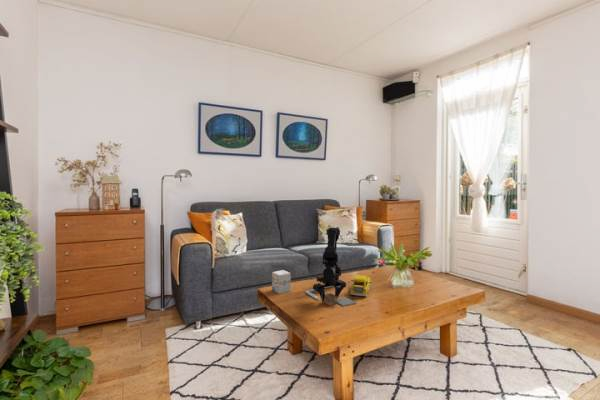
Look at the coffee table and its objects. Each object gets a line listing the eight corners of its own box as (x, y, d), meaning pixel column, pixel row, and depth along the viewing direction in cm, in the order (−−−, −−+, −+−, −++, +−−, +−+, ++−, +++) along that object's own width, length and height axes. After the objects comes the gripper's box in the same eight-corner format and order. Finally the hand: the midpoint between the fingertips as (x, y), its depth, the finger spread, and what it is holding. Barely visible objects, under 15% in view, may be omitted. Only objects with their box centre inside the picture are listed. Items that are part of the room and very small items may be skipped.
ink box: (271, 290, 197) (271, 271, 196) (282, 287, 202) (283, 269, 201) (279, 294, 190) (279, 275, 189) (290, 291, 195) (291, 272, 194)
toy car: (372, 286, 207) (372, 271, 207) (368, 299, 184) (369, 282, 183) (353, 284, 211) (353, 269, 210) (347, 296, 187) (347, 280, 187)
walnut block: (330, 300, 181) (330, 292, 181) (336, 304, 176) (336, 296, 175) (323, 302, 179) (323, 294, 178) (329, 305, 173) (329, 297, 173)
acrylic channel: (317, 290, 197) (317, 288, 197) (329, 297, 185) (329, 295, 185) (305, 292, 193) (305, 290, 193) (317, 300, 181) (317, 298, 181)
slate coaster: (346, 298, 184) (346, 297, 184) (356, 303, 176) (356, 302, 176) (333, 300, 180) (333, 299, 180) (343, 306, 172) (343, 305, 172)
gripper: (335, 267, 188) (335, 293, 189) (308, 271, 179) (307, 298, 180) (346, 272, 178) (346, 299, 179) (318, 276, 170) (318, 305, 170)
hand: (329, 300), depth 178 cm, fingers open, 8 cm apart
